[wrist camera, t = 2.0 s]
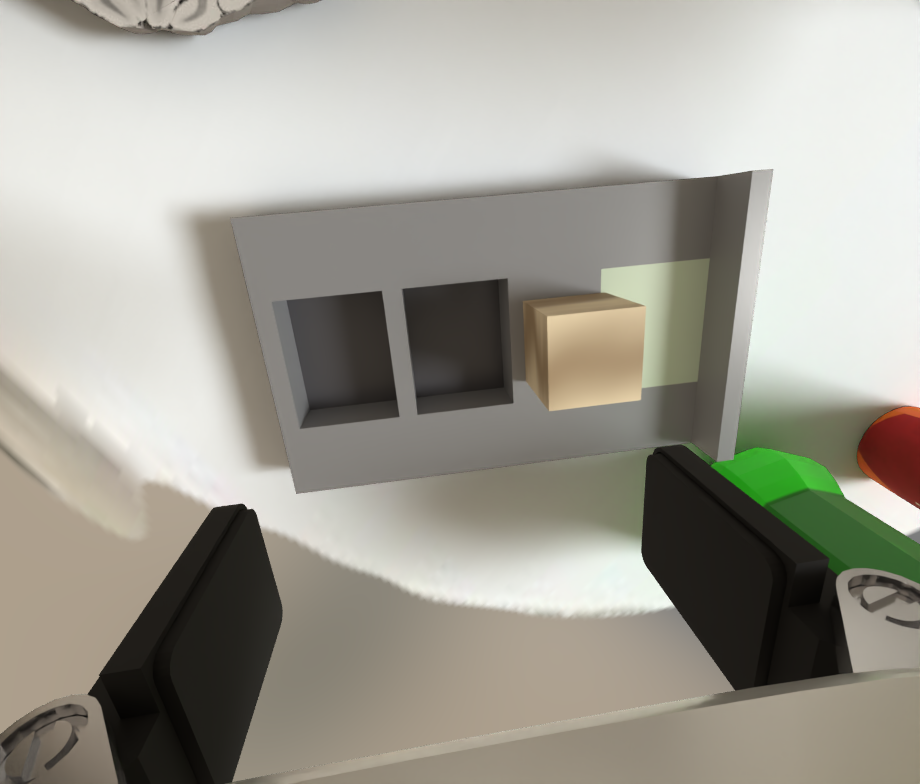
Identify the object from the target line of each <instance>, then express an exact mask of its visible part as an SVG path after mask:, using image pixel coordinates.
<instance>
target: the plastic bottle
mask: <svg viewBox="0 0 920 784" xmlns="http://www.w3.org/2000/svg"><path fill="white" fill-rule="evenodd" d="M710 466H711V467H712V468H714V469H715V470H716V471H717V472H719V473H720V474H721V475H723V476H724V477H725V478H727V479H728V480H729V481H730V482H732V483H733V484H734V485H736V486H737V487H738V488H739V489H741V490H742V491H743V492H745V493H746V494H747V495H748V496H750V497H751V498H752V499H754V500H755V501H756V502H757V503H759V504H760V505H761V506H763V507H764V508H765V509H766V510H768V511H769V512H770V513H772V514H773V515H774V516H775V517H777V518H778V519H779V520H781V521H782V522H783V523H784V524H786V525H787V526H788V527H790V528H791V529H792V530H793V531H795V532H796V533H797V534H799V535H800V536H801V537H802V538H804V539H805V540H806V541H808V542H809V543H810V544H811V545H813V546H814V547H815V548H817V549H818V550H819V551H820V552H822V553H823V554H824V555H826V556H827V557H828V558H830V559H829V564H828V568H830V569H831V570H832V571H833V572H835V573H836V574H837V575H838V576H839V575H840V574H841V573H842V572H843V571H846V570H850V569H853V568H869V569H876V570H882V571H886V572H889V573H893V574H896V575H900V576H902V577H905V578H907V579H909V580H912V581H914V582H916V583H918V584H920V544H918V543H917V542H915V541H913V540H911V539H910V538H909V537H907V536H905V535H904V534H902V533H901V532H899V531H897V530H896V529H894V528H892V527H891V526H889V525H888V524H886V523H884V522H883V521H881V520H880V519H878V518H876V517H875V516H873V515H872V514H870V513H868V512H867V511H865V510H863V509H862V508H860V507H859V506H857V505H855V504H854V503H852V502H851V501H849V500H847V499H846V498H845V497H844V495H843V493H842V491H841V489H840V488H839V486H838V484H837V482H836V481H835V479H834V478H833V477H832V475H831V474H830V473H829V471H828V470H827V469H826V467H824V466H822V465H821V464H819V463H817V462H815V461H814V460H812V459H810V458H806V457H802V456H798V455H794V454H789V453H785V452H781V451H776V450H772V449H766V448H758V447H756V448H752V449H749V450H746V451H743V452H741V453H738V454H735V455H734V460H727V461H719V462H714V463H713V464H712V465H710Z"/></svg>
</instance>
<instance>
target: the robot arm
mask: <svg viewBox="0 0 920 784" xmlns="http://www.w3.org/2000/svg"><path fill="white" fill-rule="evenodd" d="M641 550H642V557H643V560H644V563H645V565H646V566H647V568H648V569H649V571H650V572H651V574H652V575H653V576H654V578H655V579H656V581H657V582H658V583H659V585H660V586H661V588H662V589H663V590H664V592H665V593H666V595H667V596H668V597H669V599H670V600H671V602H672V603H673V604H674V606H675V607H676V608H677V610H678V611H679V612H680V614H681V615H682V617H683V618H684V620H685V621H686V622H687V624H688V625H689V627H690V628H691V629H692V631H693V632H694V634H695V635H696V636H697V638H698V639H699V640H700V642H701V643H702V645H703V646H704V648H705V649H706V650H707V652H708V653H709V655H710V656H711V657H712V659H713V660H714V662H715V663H716V664H717V666H718V667H719V668H720V670H721V671H722V673H723V674H724V675H725V677H726V678H727V680H728V681H729V682H730V684H731V685H732V687H733V688H734V689H735V691H731V692H725V693H719V694H714V695H708V696H702V697H697V698H690V699H685V700H679V701H673V702H667V703H662V704H656V705H650V706H644V707H638V708H633V709H627V710H622V711H616V712H610V713H604V714H599V715H593V716H587V717H582V718H576V719H571V720H565V721H560V722H554V723H549V724H543V725H538V726H531V727H526V728H520V729H515V730H510V731H504V732H498V733H493V734H487V735H482V736H476V737H471V738H465V739H459V740H454V741H448V742H443V743H437V744H432V745H426V746H421V747H416V748H410V749H406V750H400V751H394V752H389V753H384V754H378V755H373V756H367V757H362V758H356V759H351V760H346V761H340V762H335V763H330V764H324V765H319V766H314V767H308V768H303V769H297V770H292V771H287V772H282V773H276V774H271V775H266V776H261V777H256V778H251V779H246V780H241V781H236V782H232V780H233V777H234V774H235V770H236V767H237V764H238V761H239V758H240V755H241V751H242V748H243V745H244V742H245V738H246V735H247V732H248V729H249V726H250V722H251V719H252V716H253V713H254V709H255V706H256V703H257V700H258V697H259V693H260V690H261V687H262V683H263V681H264V677H265V674H266V671H267V668H268V664H269V661H270V658H271V654H272V651H273V648H274V645H275V642H276V639H277V635H278V632H279V629H280V625H281V622H282V604H281V600H280V597H279V593H278V589H277V586H276V582H275V579H274V575H273V572H272V568H271V565H270V561H269V558H268V554H267V550H266V547H265V543H264V540H263V536H262V533H261V529H260V525H259V522H258V518H257V515H256V512H255V511H254V510H253V509H248V510H247V508H246V506H245V505H244V504H236V505H228V506H221V507H215V508H213V509H212V510H211V512H210V513H209V515H208V516H207V518H206V519H205V520H204V522H203V523H202V525H201V526H200V528H199V529H198V531H197V532H196V534H195V535H194V537H193V538H192V540H191V541H190V542H189V544H188V546H187V547H186V549H185V550H184V551H183V553H182V554H181V556H180V557H179V559H178V560H177V562H176V563H175V564H174V566H173V567H172V569H171V570H170V572H169V573H168V575H167V576H166V578H165V579H164V581H163V582H162V584H161V585H160V586H159V588H158V589H157V591H156V592H155V594H154V595H153V597H152V598H151V600H150V601H149V603H148V604H147V605H146V607H145V608H144V610H143V611H142V613H141V614H140V616H139V617H138V619H137V620H136V622H135V623H134V625H133V626H132V627H131V629H130V630H129V632H128V633H127V635H126V636H125V638H124V639H123V641H122V642H121V644H120V645H119V646H118V648H117V649H116V651H115V652H114V654H113V655H112V657H111V658H110V660H109V661H108V663H107V664H106V666H105V667H104V669H103V670H102V671H101V673H100V674H99V676H100V677H99V679H98V680H97V681H96V683H95V684H94V686H93V687H92V689H91V690H90V692H89V693H88V694H78V695H70V696H66V697H63V698H59V699H56V700H53V701H51V702H49V703H47V704H45V705H42V706H40V707H38V708H36V709H34V710H33V711H31V712H30V713H28V714H27V715H25V716H24V717H22V718H20V719H19V720H17V721H16V722H15V723H13V724H12V725H11V726H10V727H8V728H7V729H6V730H5V731H4V732H3V733H1V734H0V784H920V584H918V583H916V582H914V581H912V580H909V579H907V578H905V577H902V576H900V575H896V574H893V573H889V572H886V571H882V570H876V569H869V568H853V569H850V570H846V571H843V572H842V573H841V574H840V575H839V576H838V575H837V574H836V573H835V572H833V571H832V570H831V569H830V568H828V564H829V559H830V558H828V557H827V556H826V555H824V554H823V553H822V552H820V551H819V550H818V549H817V548H815V547H814V546H813V545H811V544H810V543H809V542H808V541H806V540H805V539H804V538H802V537H801V536H800V535H799V534H797V533H796V532H795V531H793V530H792V529H791V528H790V527H788V526H787V525H786V524H784V523H783V522H782V521H781V520H779V519H778V518H777V517H775V516H774V515H773V514H772V513H770V512H769V511H768V510H766V509H765V508H764V507H763V506H761V505H760V504H759V503H757V502H756V501H755V500H754V499H752V498H751V497H750V496H748V495H747V494H746V493H745V492H743V491H742V490H741V489H739V488H738V487H737V486H736V485H734V484H733V483H732V482H730V481H729V480H728V479H727V478H725V477H724V476H723V475H721V474H720V473H719V472H717V471H716V470H715V469H714V468H712V467H711V466H710V465H708V464H707V463H706V462H705V461H703V460H702V459H701V458H699V457H698V456H697V455H696V454H694V453H693V452H692V451H690V450H689V449H688V448H687V447H685V446H683V445H673V446H665V447H658V448H656V449H655V450H654V452H653V455H649V456H648V458H647V463H646V480H645V497H644V514H643V531H642V548H641Z"/></svg>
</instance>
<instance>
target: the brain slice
mask: <svg viewBox="0 0 920 784" xmlns="http://www.w3.org/2000/svg"><path fill="white" fill-rule="evenodd" d="M72 1H73V2H75V3H77V4H79V5H81V6H83V7H85V8H87V9H88V10H89V11H90V12H91V13H93V14H94V15H96V16H98V17H100V18H102V19H104V20H106V21H108V22H110V23H112V24H114V25H116V26H117V27H119V28H122V29H125V30H127V31H130V32H133V33H136V34H147V33H154V32H158V31H160V30H166V31H171V32H172V33H174V34H180V35H206V34H208V33H210V32H212V31H213V29H214V28H215V27H216V26H218V25H222V24H226V23H230V22H234V21H237V20H239V19H240V18H242V17H244V16H246V15H248V14H264V13H273V12H278V11H281V10H283V9H285V8H287V7H289V6H291V5H293V4H295V3H302V4H310V3H316V2H319V1H321V0H72Z"/></svg>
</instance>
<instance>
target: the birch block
mask: <svg viewBox="0 0 920 784" xmlns="http://www.w3.org/2000/svg"><path fill="white" fill-rule="evenodd" d="M523 317H524V345H525V372H526V382H527V383H528V385H529V386H530V387H531V389H532V390H533V391H534V393H535V394H536V395H537V396H538V398H539V399H540V400H541V402H542V403H543V404H544V405H545V407H546V408H547V409H548V411H555V410H564V409H572V408H580V407H588V406H597V405H605V404H613V403H621V402H629V401H638V400H641V389H642V371H643V353H644V335H645V317H646V306H644V305H641V304H638V303H635V302H632V301H629V300H626V299H623V298H620V297H617V296H614V295H611V294H608V293H595V294H586V295H576V296H566V297H557V298H547V299H537V300H528V301H523Z"/></svg>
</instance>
